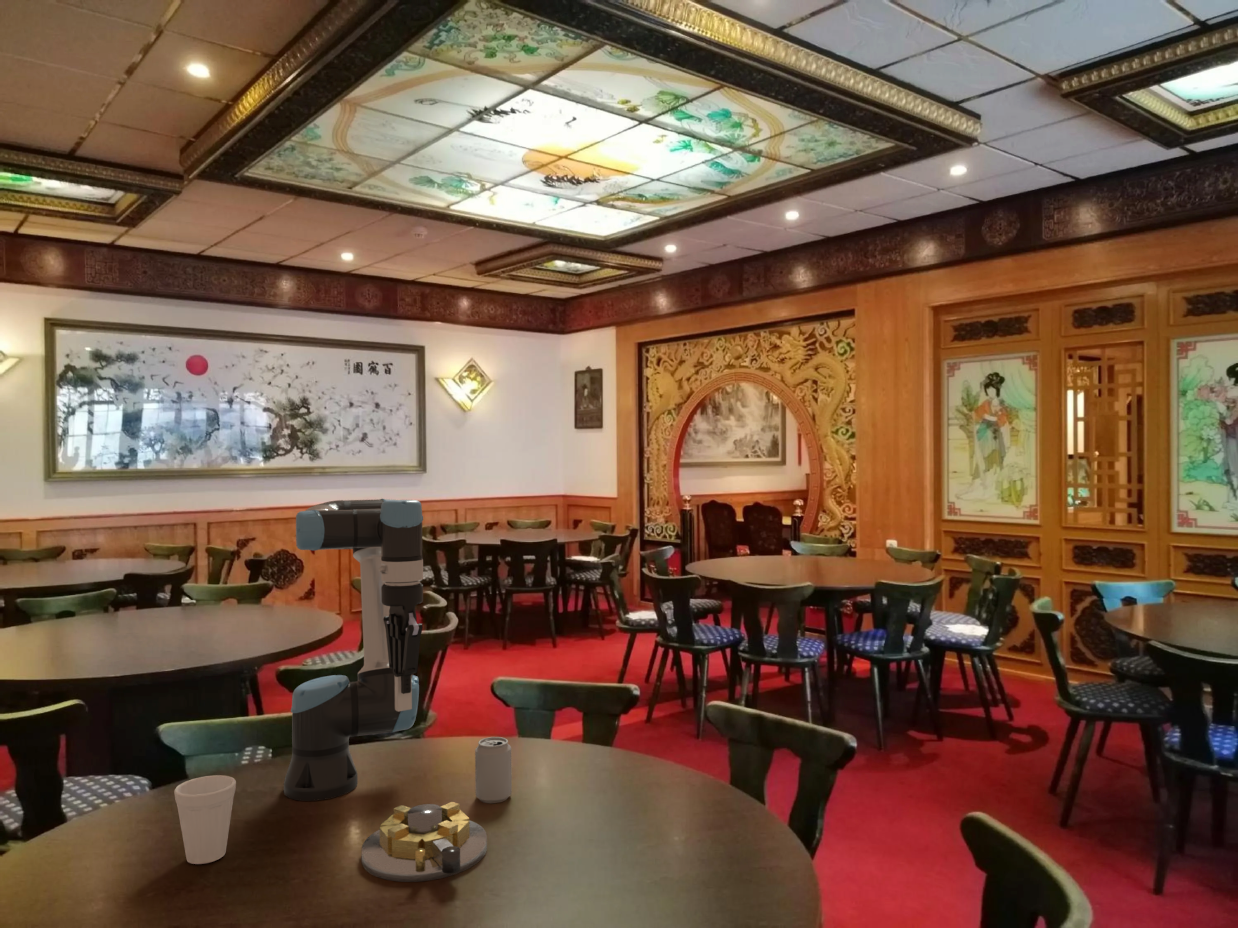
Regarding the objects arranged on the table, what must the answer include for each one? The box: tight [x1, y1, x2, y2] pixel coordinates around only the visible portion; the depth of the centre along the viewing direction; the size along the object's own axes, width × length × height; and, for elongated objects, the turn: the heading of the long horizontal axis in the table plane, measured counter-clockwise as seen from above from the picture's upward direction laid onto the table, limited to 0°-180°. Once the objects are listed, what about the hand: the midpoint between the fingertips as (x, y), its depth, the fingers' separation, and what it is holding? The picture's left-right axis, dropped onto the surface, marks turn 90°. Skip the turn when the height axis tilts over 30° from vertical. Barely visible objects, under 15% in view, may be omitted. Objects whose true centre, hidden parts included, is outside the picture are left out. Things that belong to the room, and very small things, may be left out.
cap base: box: [361, 803, 488, 883], centre depth 155 cm, size 22×22×8 cm
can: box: [474, 736, 513, 804], centre depth 180 cm, size 8×8×12 cm
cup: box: [173, 774, 237, 865], centre depth 153 cm, size 10×10×13 cm
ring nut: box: [379, 801, 470, 874], centre depth 152 cm, size 22×15×4 cm, turn 31°
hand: (403, 709), depth 160 cm, fingers closed
